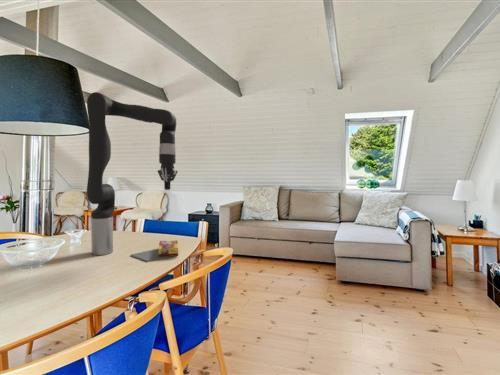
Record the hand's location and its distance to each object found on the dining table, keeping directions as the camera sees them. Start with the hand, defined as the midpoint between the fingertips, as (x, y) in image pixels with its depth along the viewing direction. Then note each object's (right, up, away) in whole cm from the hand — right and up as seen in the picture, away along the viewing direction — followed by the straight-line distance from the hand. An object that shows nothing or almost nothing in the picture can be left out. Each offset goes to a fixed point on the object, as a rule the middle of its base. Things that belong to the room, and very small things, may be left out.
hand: (167, 189), depth 137 cm
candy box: (+2, -29, -7) cm, 30 cm away
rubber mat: (-6, -31, -2) cm, 32 cm away
